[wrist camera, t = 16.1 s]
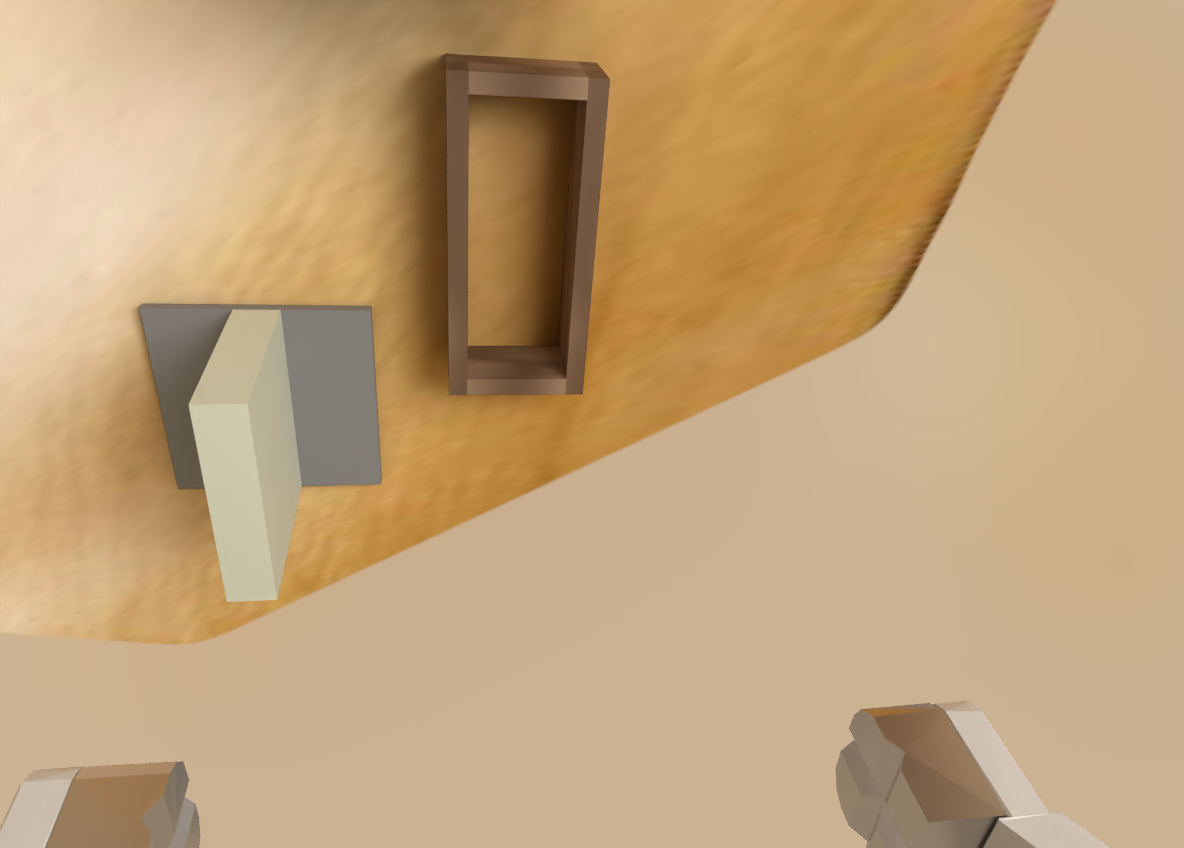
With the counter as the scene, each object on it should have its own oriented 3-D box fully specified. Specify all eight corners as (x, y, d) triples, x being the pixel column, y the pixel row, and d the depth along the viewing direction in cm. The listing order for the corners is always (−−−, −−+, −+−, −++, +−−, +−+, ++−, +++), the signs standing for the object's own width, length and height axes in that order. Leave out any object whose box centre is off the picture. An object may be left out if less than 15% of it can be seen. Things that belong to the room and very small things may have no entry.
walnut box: (448, 360, 51) (449, 395, 48) (445, 53, 42) (446, 69, 39) (573, 361, 52) (582, 394, 49) (596, 63, 43) (610, 79, 40)
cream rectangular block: (259, 487, 53) (227, 601, 45) (232, 309, 47) (188, 404, 39) (301, 486, 54) (277, 599, 45) (280, 309, 47) (247, 404, 39)
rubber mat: (180, 483, 53) (178, 489, 52) (142, 303, 47) (139, 308, 46) (381, 478, 55) (381, 484, 54) (371, 306, 49) (370, 310, 48)
